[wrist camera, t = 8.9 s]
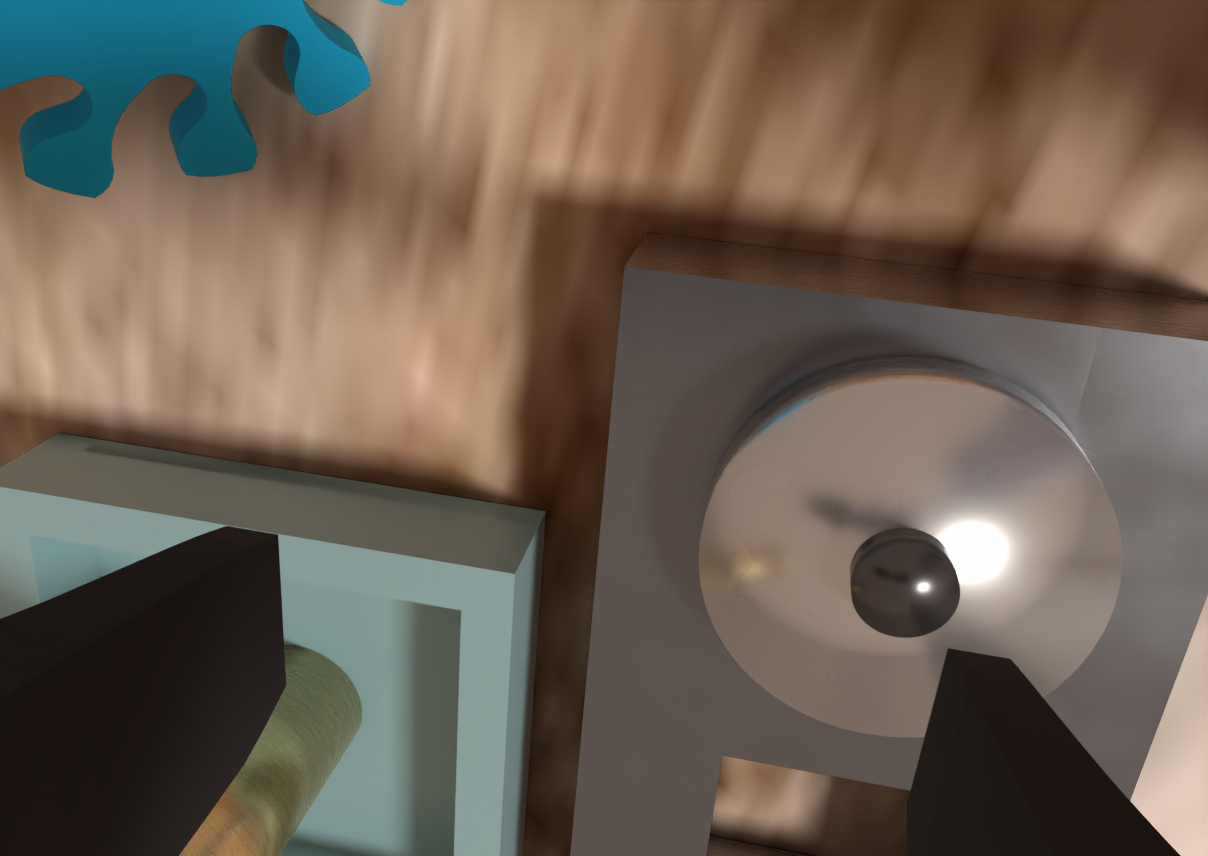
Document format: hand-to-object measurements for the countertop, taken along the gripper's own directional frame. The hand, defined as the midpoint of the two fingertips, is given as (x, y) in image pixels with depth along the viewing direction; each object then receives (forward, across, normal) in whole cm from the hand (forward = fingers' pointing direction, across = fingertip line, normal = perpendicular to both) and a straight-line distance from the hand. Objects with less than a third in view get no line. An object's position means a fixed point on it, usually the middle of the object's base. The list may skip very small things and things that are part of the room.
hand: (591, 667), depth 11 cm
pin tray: (+9, +8, +9) cm, 15 cm away
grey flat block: (+9, -4, +6) cm, 12 cm away
